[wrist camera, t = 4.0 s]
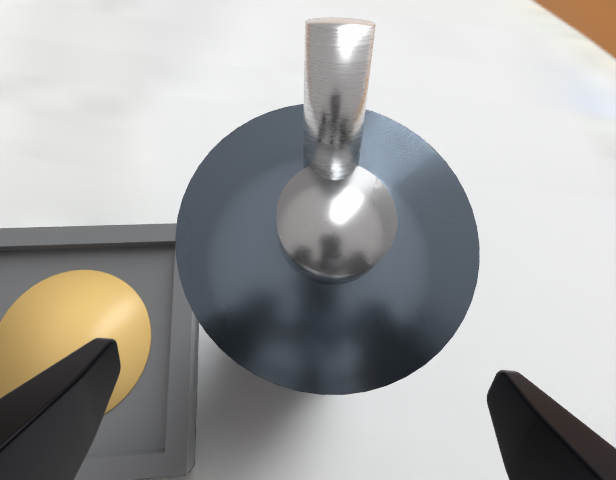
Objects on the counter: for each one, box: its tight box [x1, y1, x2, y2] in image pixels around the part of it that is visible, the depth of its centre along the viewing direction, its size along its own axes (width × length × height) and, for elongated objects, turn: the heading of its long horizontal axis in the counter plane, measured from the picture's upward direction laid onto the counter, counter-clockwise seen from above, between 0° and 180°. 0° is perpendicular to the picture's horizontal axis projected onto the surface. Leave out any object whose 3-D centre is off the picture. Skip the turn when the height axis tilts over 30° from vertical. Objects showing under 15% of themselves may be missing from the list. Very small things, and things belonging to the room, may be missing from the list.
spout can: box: [175, 18, 479, 395], centre depth 12 cm, size 6×6×16 cm
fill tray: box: [0, 224, 199, 480], centre depth 17 cm, size 11×11×2 cm
